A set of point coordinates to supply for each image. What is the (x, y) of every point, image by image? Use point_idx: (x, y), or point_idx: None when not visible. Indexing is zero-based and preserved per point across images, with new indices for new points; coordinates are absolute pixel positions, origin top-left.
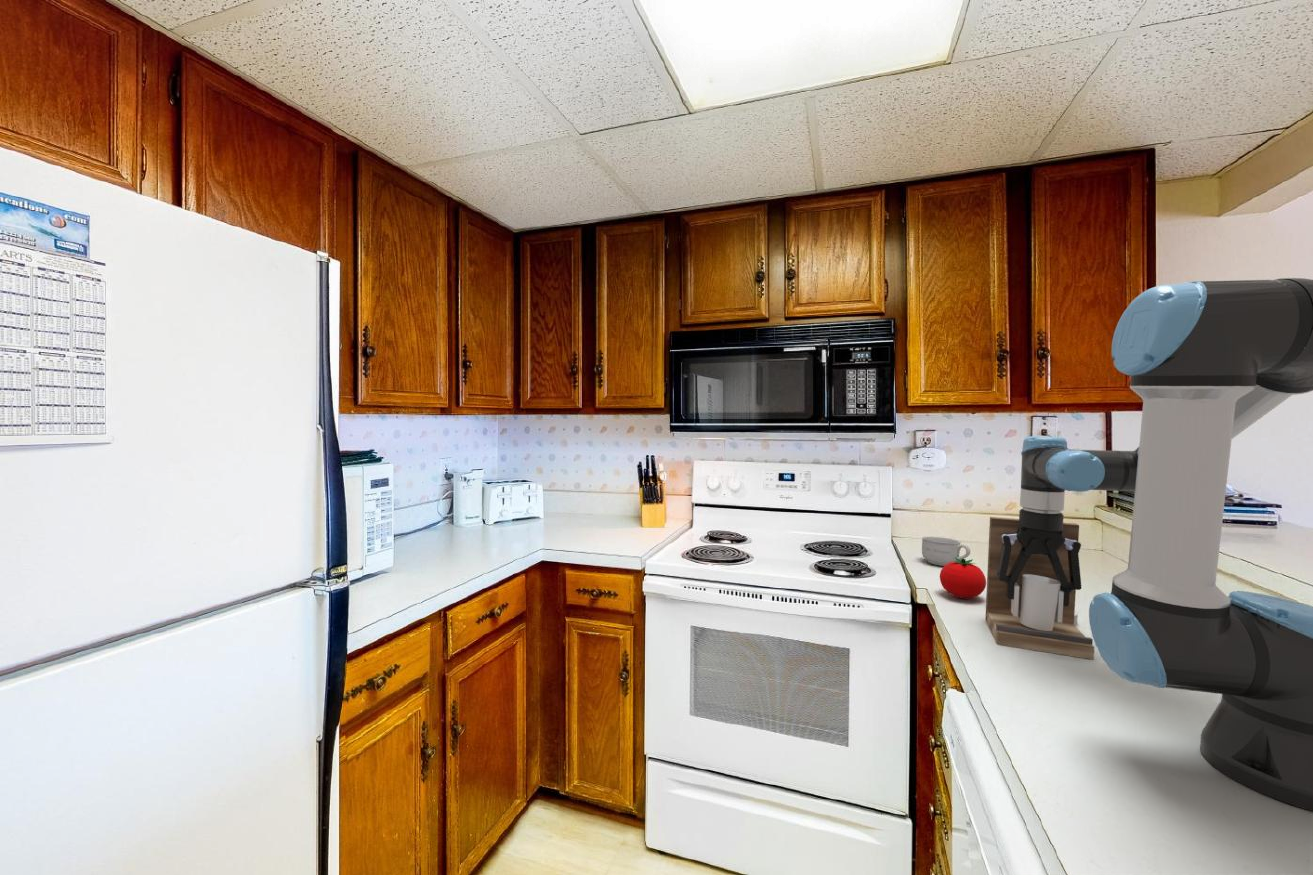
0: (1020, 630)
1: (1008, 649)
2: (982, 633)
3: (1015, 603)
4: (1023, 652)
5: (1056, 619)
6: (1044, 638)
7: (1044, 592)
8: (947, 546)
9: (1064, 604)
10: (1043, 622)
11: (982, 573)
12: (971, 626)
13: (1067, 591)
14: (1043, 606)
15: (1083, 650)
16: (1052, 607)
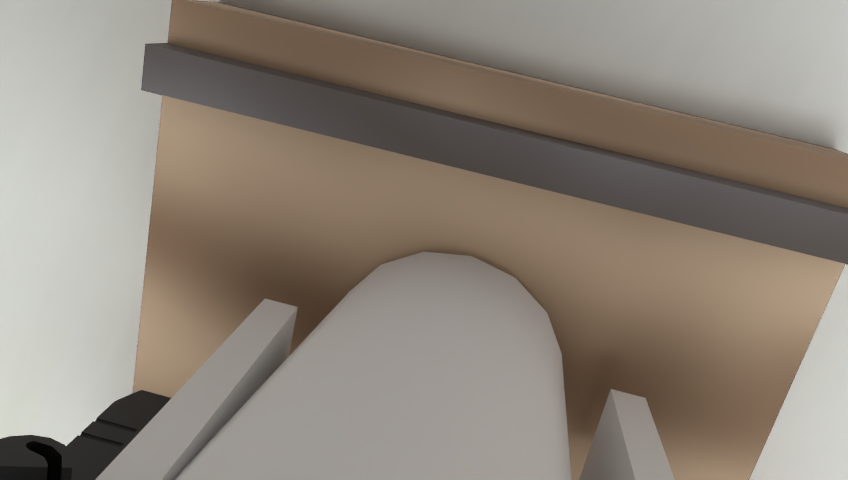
0: (686, 176)
1: (795, 61)
2: (828, 346)
3: (664, 473)
4: (698, 24)
5: (287, 349)
6: (508, 104)
7: (391, 449)
8: None
9: (162, 407)
10: (436, 278)
11: None
12: (839, 465)
13: (37, 477)
14: (424, 346)
15: (258, 15)
16: (321, 348)
